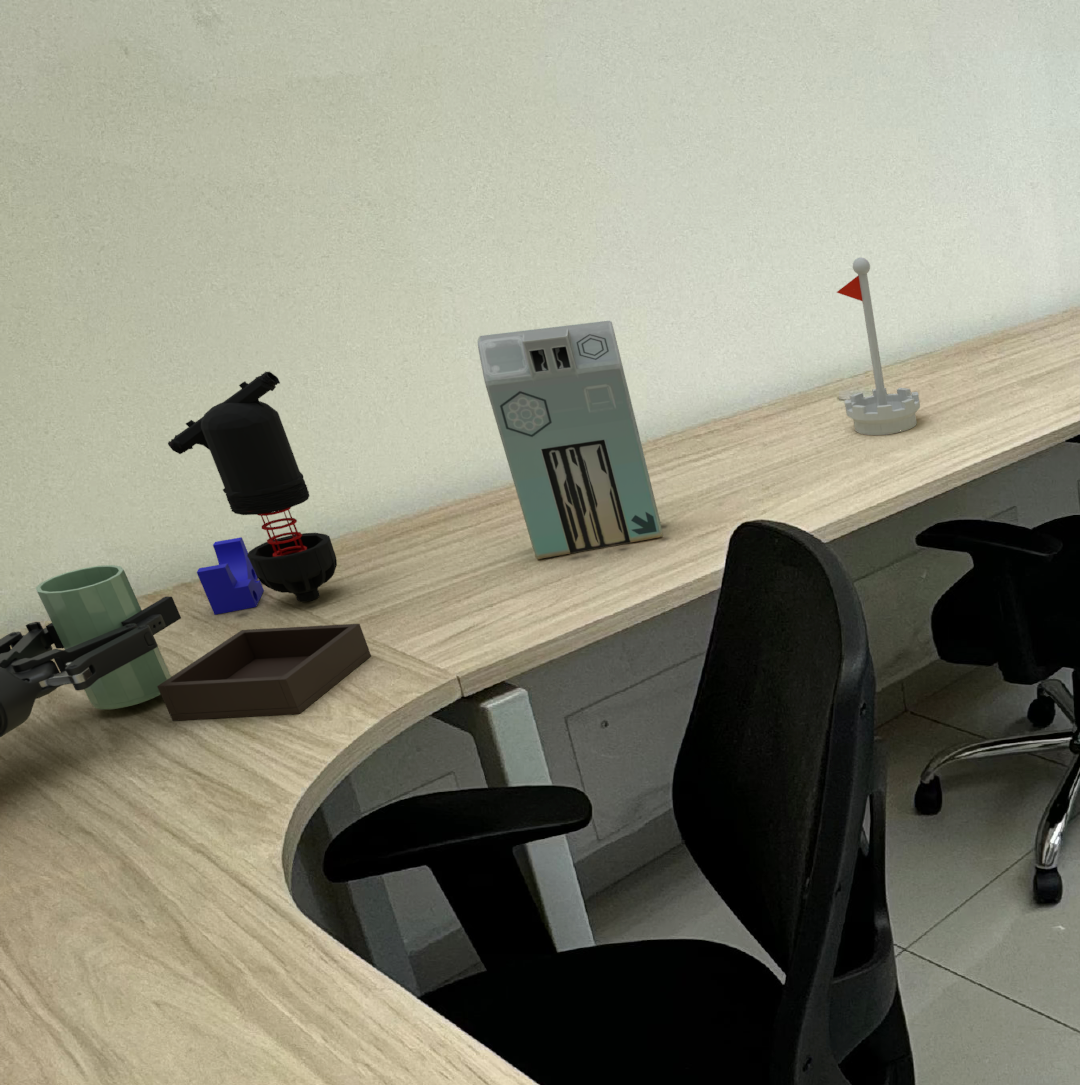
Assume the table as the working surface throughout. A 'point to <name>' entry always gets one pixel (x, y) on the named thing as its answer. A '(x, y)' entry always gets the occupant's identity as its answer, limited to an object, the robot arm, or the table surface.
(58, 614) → the green pipe segment
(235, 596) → the blue block
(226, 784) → the table surface
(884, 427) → the flag stand
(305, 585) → the filter
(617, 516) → the device
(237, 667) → the tray
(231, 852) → the table surface
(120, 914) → the table surface
